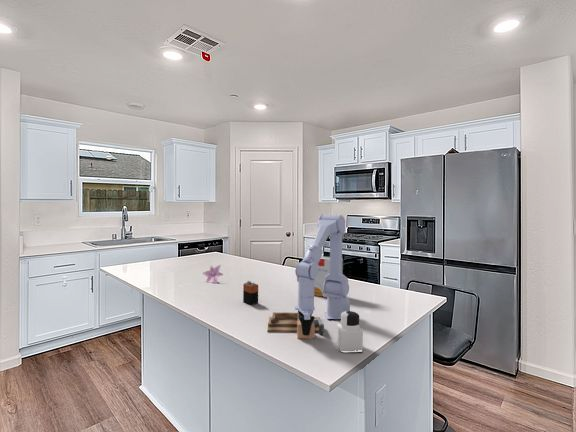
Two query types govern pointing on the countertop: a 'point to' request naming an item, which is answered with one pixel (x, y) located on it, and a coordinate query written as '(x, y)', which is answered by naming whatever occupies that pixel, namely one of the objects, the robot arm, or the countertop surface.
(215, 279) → the lily
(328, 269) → the hard drive box
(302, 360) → the countertop surface
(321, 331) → the gate
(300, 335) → the block with dome
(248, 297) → the battery
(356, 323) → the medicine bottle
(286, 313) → the housing
